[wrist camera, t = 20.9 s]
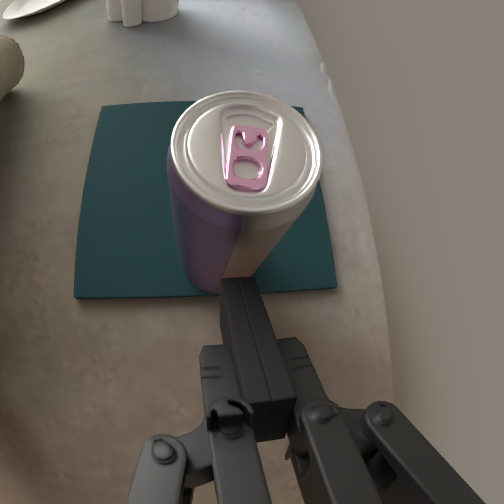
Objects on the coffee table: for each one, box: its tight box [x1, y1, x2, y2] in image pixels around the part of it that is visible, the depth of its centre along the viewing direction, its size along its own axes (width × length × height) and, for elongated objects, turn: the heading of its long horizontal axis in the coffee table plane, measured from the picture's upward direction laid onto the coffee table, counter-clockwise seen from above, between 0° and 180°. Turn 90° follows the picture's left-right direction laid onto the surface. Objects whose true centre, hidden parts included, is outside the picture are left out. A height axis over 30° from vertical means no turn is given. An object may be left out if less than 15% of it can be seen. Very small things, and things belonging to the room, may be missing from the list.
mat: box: [74, 101, 337, 299], centre depth 27 cm, size 22×20×1 cm
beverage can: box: [167, 91, 323, 294], centre depth 17 cm, size 6×6×15 cm
